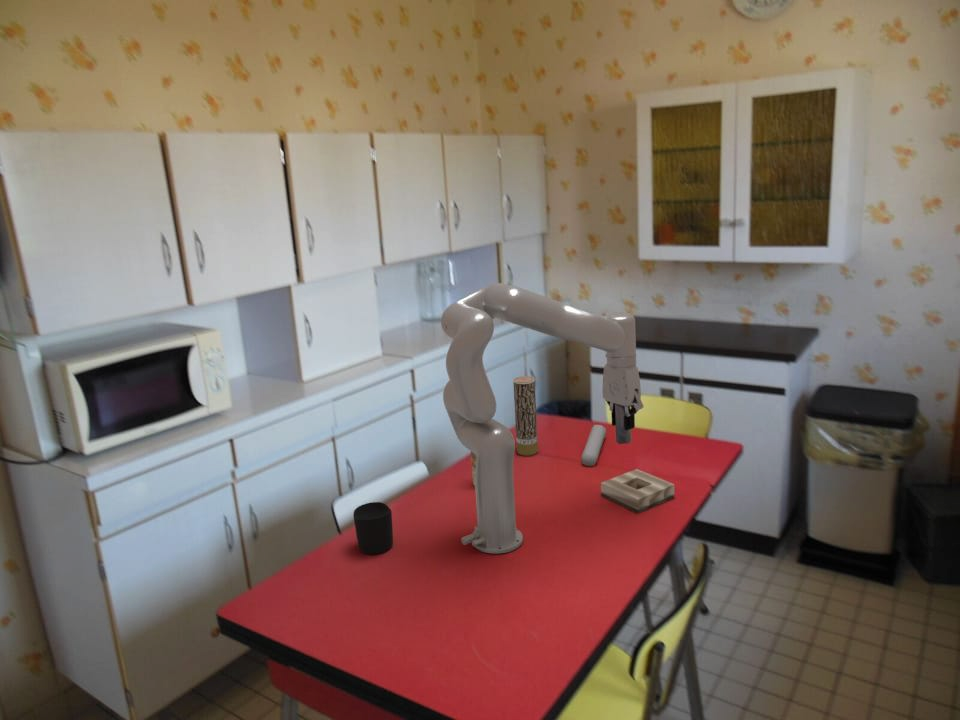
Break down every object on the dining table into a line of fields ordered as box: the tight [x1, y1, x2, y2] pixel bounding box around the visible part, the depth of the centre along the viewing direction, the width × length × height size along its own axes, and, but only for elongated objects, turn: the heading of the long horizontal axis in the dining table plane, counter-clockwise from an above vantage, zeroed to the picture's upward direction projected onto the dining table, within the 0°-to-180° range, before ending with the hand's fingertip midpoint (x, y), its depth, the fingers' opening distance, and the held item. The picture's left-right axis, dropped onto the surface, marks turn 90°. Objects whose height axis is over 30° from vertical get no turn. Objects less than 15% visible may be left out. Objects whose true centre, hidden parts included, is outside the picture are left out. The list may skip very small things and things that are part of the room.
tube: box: [581, 424, 607, 467], centre depth 232 cm, size 5×5×25 cm
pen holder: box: [352, 501, 394, 556], centre depth 181 cm, size 9×9×10 cm
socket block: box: [600, 468, 675, 514], centre depth 199 cm, size 14×14×4 cm
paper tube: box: [513, 375, 539, 457], centre depth 232 cm, size 7×7×25 cm
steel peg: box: [615, 404, 632, 445], centre depth 191 cm, size 4×4×12 cm
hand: (623, 425), depth 192 cm, fingers closed on steel peg, 4 cm apart
